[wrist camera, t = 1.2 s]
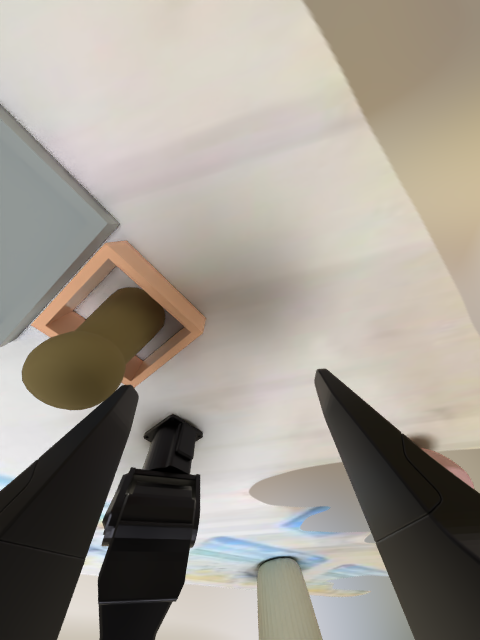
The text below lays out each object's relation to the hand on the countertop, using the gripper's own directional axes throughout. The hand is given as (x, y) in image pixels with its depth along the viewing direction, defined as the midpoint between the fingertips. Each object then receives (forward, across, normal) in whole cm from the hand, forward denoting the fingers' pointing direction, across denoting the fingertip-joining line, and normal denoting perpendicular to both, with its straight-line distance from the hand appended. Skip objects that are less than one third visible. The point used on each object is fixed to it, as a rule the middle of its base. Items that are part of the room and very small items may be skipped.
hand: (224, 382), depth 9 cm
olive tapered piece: (+12, +10, +2) cm, 16 cm away
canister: (+1, -4, +91) cm, 91 cm away
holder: (+12, +10, +2) cm, 16 cm away
